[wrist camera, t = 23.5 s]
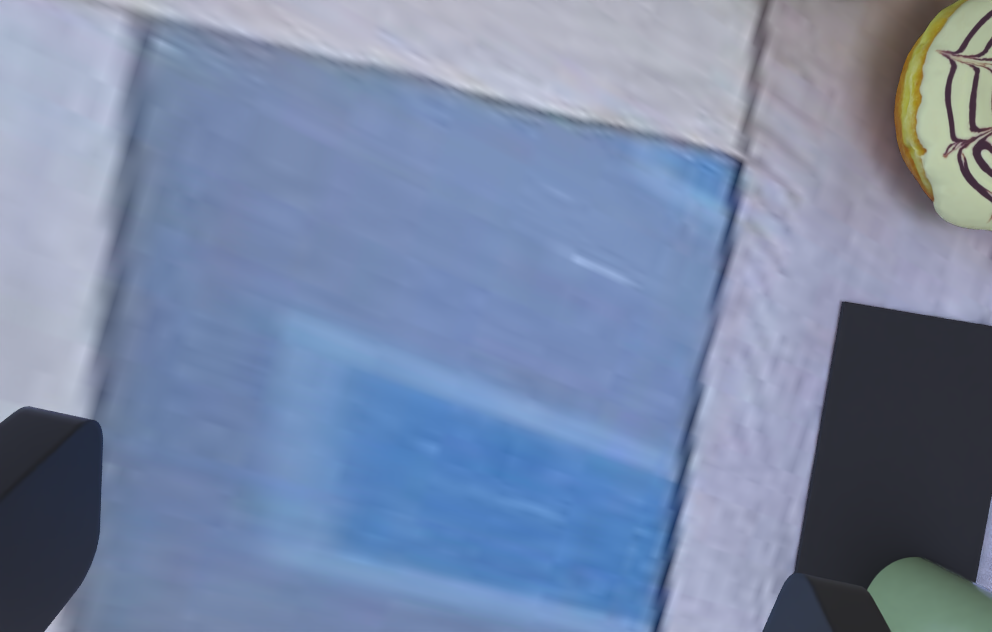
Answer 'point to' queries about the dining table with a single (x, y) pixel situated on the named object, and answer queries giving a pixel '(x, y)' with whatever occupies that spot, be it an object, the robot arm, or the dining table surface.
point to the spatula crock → (930, 598)
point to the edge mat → (901, 447)
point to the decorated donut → (951, 113)
